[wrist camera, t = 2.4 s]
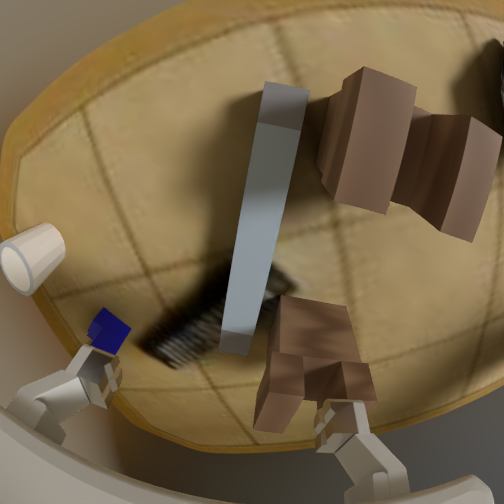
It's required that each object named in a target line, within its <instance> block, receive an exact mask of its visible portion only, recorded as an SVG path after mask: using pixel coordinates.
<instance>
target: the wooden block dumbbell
mask: <svg viewBox="0 0 504 504" xmlns="http://www.w3.org/2000/svg"><path fill="white" fill-rule="evenodd" d="M416 90H417V87H415V86H413V85H411V84H409V83H406V82H404V81H402V80H399V79H397V78H394V77H392V76H389V75H387V74H384V73H382V72H379V71H376V70H373V69H371V68H368V67H365V66H364V67H362V68H361V69H359V70H358V71H356V72H355V73H353V74H351V75H350V76H348V77H347V78H345V79H344V80H343V85H342V90H341V91H339V92H337V93H335V94H333V95H332V96H330V98H329V103H328V107H327V112H326V117H325V122H324V126H323V131H322V135H321V140H320V144H319V149H318V153H317V158H316V162H315V165H316V166H317V168H318V169H319V170H320V171H321V172H322V174H323V176H322V180H321V183H322V184H323V186H324V187H325V188H326V190H327V191H328V193H329V194H330V196H331V197H332V199H333V200H334V201H336V202H340V203H344V204H348V205H352V206H356V207H359V208H363V209H367V210H370V211H374V212H378V213H381V214H385V215H386V212H387V209H388V206H389V203H390V201H392V202H395V203H398V204H401V205H405V206H408V207H410V208H411V209H412V210H414V211H415V212H416V213H417V214H419V215H420V216H421V217H423V218H424V219H425V220H426V221H428V222H429V223H430V224H431V225H433V226H434V227H435V228H436V229H437V230H439V231H440V232H443V233H446V234H449V235H451V236H454V237H457V238H460V239H463V240H466V241H468V242H471V243H472V241H473V239H474V236H475V234H476V231H477V228H478V226H479V223H480V220H481V217H482V214H483V212H484V209H485V205H486V202H487V199H488V196H489V192H490V189H491V186H492V182H493V178H494V174H495V170H496V166H497V162H498V157H499V153H500V148H501V143H502V136H500V135H499V134H497V133H496V132H495V131H493V130H492V129H490V128H489V127H487V126H486V125H484V124H483V123H481V122H480V121H478V120H477V119H475V118H473V117H472V116H461V115H439V114H431V113H429V112H427V111H425V110H423V109H420V108H418V107H416V106H414V102H415V96H416ZM326 399H350V400H362V401H363V402H364V405H365V410H366V414H367V412H368V411H369V410H370V409H371V408H372V407H373V405H374V404H375V403H376V402H377V398H376V394H375V390H374V385H373V381H372V378H371V374H370V370H369V366H368V363H361V359H360V356H359V352H358V348H357V344H356V340H355V336H354V333H353V329H352V326H351V322H350V318H349V315H348V311H347V308H346V306H340V305H334V304H328V303H323V302H317V301H312V300H306V299H301V298H295V297H290V296H285V295H281V297H280V300H279V304H278V307H277V310H276V314H275V317H274V321H273V324H272V327H271V331H270V334H269V337H268V349H267V361H266V369H265V372H264V375H263V378H262V381H261V384H260V386H259V389H258V392H257V398H256V406H255V415H254V424H253V430H258V431H265V432H273V433H283V432H284V430H285V428H286V427H287V425H288V424H289V422H290V420H291V419H292V417H293V416H294V414H295V412H296V411H297V409H298V407H299V406H300V404H301V402H302V400H310V401H317V412H318V410H319V409H320V408H322V407H323V403H324V401H325V400H326Z"/></svg>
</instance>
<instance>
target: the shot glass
mask: <svg viewBox="0 0 504 504" xmlns="http://www.w3.org/2000/svg"><path fill="white" fill-rule="evenodd" d="M65 251H66V249H65V244H64V241H63V239H62V236H61V234H60V233H59V231H58V230H57V229H56V228H55V227H54V226H53V225H51V224H49V223H42V224H40V225H37V226H35V227H33V228H31V229H28V230H26V231H24V232H22V233H20V234H18V235H16V236H14V237H12V238H9V239H7V240H5V241H4V242H3V243H1V245H0V265H1V268H2V271H3V273H4V275H5V277H6V279H7V280H8V282H9V283H10V284H11V286H12V287H13V288H14V289H15V290H16V291H17V292H19V293H20V294H21V295H24V296H30V295H32V294H33V293H34V292H35V291H36V290H37V288H38V287H39V286H40V285H41V284H42V283H43V282H44V281H45V279H46V278H47V277H48V276H49V275H50V274H51V273H52V272H53V271H54V270H55V269H56V268H57V267H58V266H59V265H60V263H61V262H62V261H63V259H64V258H65Z"/></svg>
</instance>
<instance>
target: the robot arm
mask: <svg viewBox="0 0 504 504" xmlns="http://www.w3.org/2000/svg"><path fill="white" fill-rule="evenodd" d="M119 362H120V361H119V357H118V356H116V355H113V354H111V353H108V352H105V351H103V350H100V349H98V348H95V347H93V346H90V345H88V344H84V345H83V346H82V347H81V348H80V350H79V351H78V352H77V354H76V355H75V357H74V358H73V359H72V361H71V362H70V364H69V365H68V367H67V368H66V370H60V371H57V372H55V373H53V374H51V375H48V376H46V377H44V378H42V379H40V380H37V381H35V382H33V383H30V384H28V385H26V386H24V387H21V388H20V389H19V390H18V392H17V393H16V395H15V396H14V398H13V399H12V401H11V402H10V404H9V405H8V407H7V408H6V409H4V408H3V407H2V406H0V504H238V503H231V502H223V501H217V500H212V499H206V498H201V497H196V496H191V495H187V494H183V493H179V492H175V491H171V490H168V489H164V488H160V487H157V486H154V485H151V484H148V483H145V482H141V481H138V480H136V479H133V478H130V477H127V476H124V475H122V474H120V473H117V472H115V471H112V470H110V469H107V468H104V467H103V466H100V465H98V464H96V463H93V462H91V461H89V460H87V459H85V458H83V457H81V456H79V455H77V454H75V453H73V452H71V451H69V450H68V449H66V448H64V447H62V446H61V445H62V443H63V441H64V439H65V437H66V434H65V432H64V430H63V429H62V428H61V426H60V425H59V423H61V422H63V421H64V420H66V419H67V418H69V417H70V416H72V415H73V414H75V413H77V412H78V411H79V410H81V409H83V408H84V407H86V406H87V405H88V404H90V403H92V404H95V405H98V406H100V407H103V408H105V409H108V408H109V406H110V404H111V402H112V400H113V398H114V396H113V392H114V391H116V390H118V388H119V386H120V384H121V380H122V369H121V368H120V367H119V365H118V364H119ZM314 430H315V431H316V432H317V434H318V435H317V437H316V438H315V452H319V453H335V455H336V457H337V458H338V460H339V461H340V463H341V464H342V466H343V467H344V469H345V470H346V472H347V473H348V475H349V476H350V477H351V479H352V480H353V482H354V483H355V486H354V487H352V488H350V489H349V490H347V491H346V492H345V493H344V495H345V496H344V497H345V504H494V499H493V495H492V492H491V490H490V488H489V487H488V486H487V485H486V484H485V483H483V482H482V481H481V480H480V479H479V478H477V477H476V476H474V475H468V476H465V477H462V478H459V479H457V480H454V481H451V482H448V483H446V484H443V485H439V486H436V487H433V488H430V489H426V490H423V491H419V492H415V493H412V494H410V489H409V483H408V477H407V472H406V468H405V467H404V465H403V464H402V463H401V462H400V461H399V460H398V459H397V458H396V457H395V456H394V455H393V454H392V453H391V452H390V451H389V450H388V449H387V448H386V446H385V445H384V444H383V443H382V442H381V441H380V440H379V439H378V438H377V437H376V436H375V435H374V433H370V429H369V424H368V419H367V414H366V410H365V405H364V402H363V401H362V400H350V399H326V400H325V401H324V403H323V407H322V408H320V409H319V410H318V412H317V413H316V416H315V419H314Z"/></svg>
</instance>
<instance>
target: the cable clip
mask: <svg viewBox="0 0 504 504" xmlns="http://www.w3.org/2000/svg"><path fill="white" fill-rule="evenodd" d="M130 330H131V328H130V327H128V326H127V325H126V324H125V323H123V322H122V321H121V320H119V319H118V318H117V317H116V316H114V315H113V314H112V313H110V312H109V311H108V310H107V309H106V308H104V307H103V309H102V310H101V311H100V312H99V314H98V315H97V316H96V317H95V319H94V320H93V321H92V323H91V325H90V327H89V329H88V331H89V332H88V335H87V336H89V337H90V338H91V339H92V340H94V341H93V342H92V344H91V345H90V346H93V347H95V348H98V349H100V350H103V351H105V352H108V353H111V354H113V355H115V354H116V353H117V351H118V349H119V348H120V346H121V345H122V343H123V341H124V340H125V338H126V337H127V335H128V333H129V332H130Z"/></svg>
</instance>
